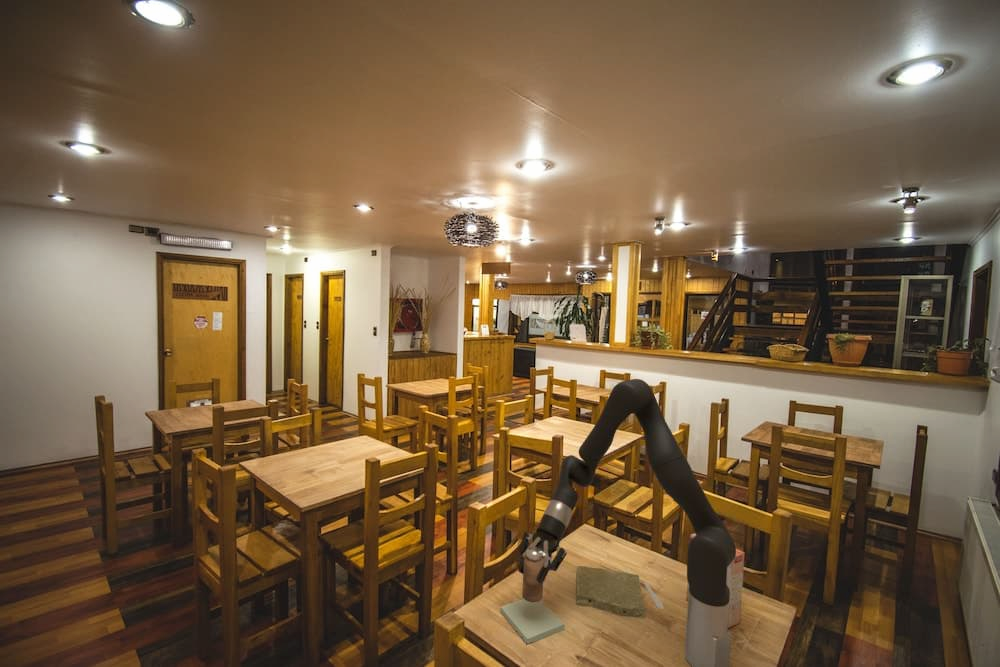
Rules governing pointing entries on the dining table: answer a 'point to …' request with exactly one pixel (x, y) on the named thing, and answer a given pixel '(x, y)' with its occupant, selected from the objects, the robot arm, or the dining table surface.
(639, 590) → the decorative tile
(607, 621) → the dining table surface
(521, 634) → the serving board
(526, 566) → the pepper mill
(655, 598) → the butter knife
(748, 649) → the dining table surface
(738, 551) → the cracker box
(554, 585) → the dining table surface
